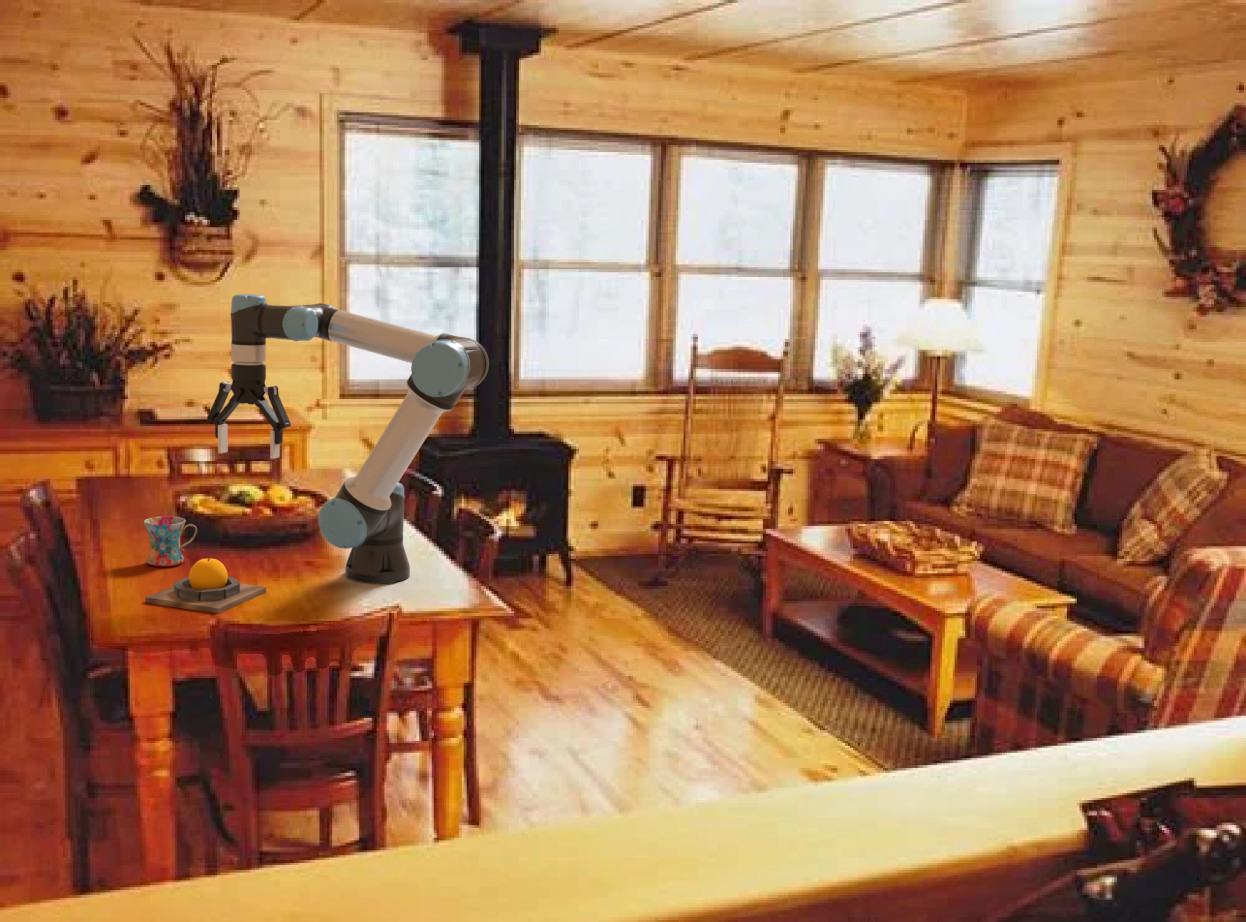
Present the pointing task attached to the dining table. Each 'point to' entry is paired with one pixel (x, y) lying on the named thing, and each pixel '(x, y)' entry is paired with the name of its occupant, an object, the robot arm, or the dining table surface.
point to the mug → (166, 540)
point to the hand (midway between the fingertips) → (248, 455)
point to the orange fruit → (208, 574)
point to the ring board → (206, 605)
